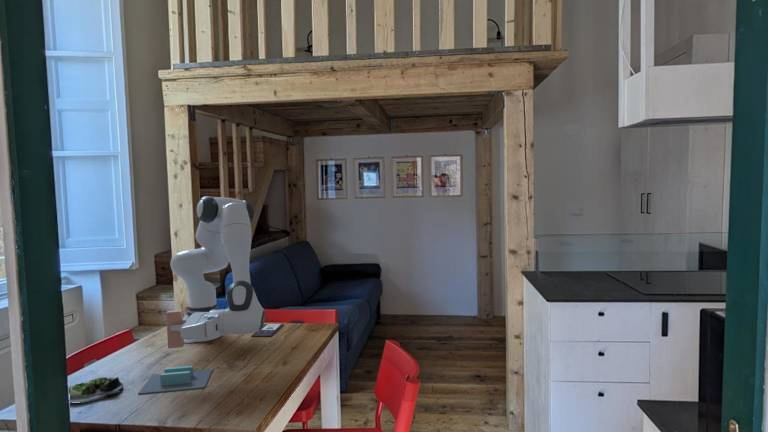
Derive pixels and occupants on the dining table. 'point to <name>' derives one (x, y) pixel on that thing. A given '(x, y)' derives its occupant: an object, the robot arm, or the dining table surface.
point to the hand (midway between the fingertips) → (172, 326)
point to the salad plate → (95, 389)
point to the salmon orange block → (174, 336)
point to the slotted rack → (177, 375)
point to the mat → (196, 383)
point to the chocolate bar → (267, 330)
